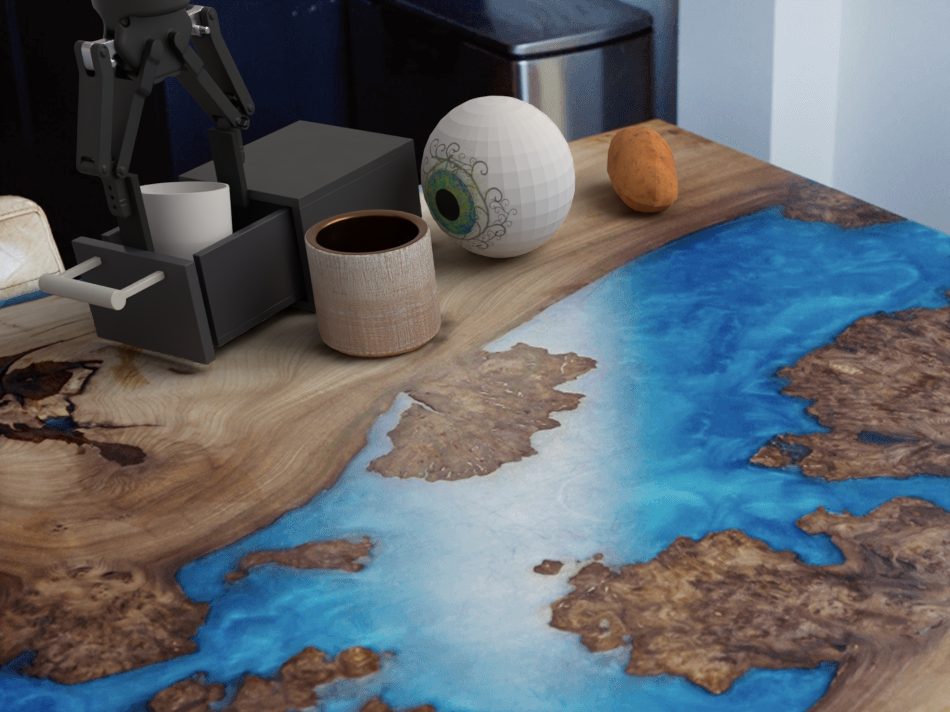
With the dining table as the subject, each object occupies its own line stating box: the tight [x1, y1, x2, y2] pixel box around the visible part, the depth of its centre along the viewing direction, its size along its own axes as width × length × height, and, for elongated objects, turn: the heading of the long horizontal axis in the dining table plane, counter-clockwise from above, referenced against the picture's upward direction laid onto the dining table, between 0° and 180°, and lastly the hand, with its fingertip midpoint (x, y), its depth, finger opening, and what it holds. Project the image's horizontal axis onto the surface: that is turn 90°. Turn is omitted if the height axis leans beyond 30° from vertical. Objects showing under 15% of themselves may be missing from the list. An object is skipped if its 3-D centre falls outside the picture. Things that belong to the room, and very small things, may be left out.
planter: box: [305, 209, 442, 359], centre depth 124 cm, size 11×11×10 cm
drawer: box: [37, 199, 307, 366], centre depth 124 cm, size 23×13×9 cm, turn 153°
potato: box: [606, 125, 679, 213], centre depth 151 cm, size 7×13×7 cm, turn 10°
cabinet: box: [178, 119, 423, 314], centre depth 137 cm, size 18×14×11 cm
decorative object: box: [420, 95, 576, 259], centre depth 138 cm, size 15×15×15 cm
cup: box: [140, 181, 232, 261], centre depth 125 cm, size 8×8×10 cm
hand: (189, 226), depth 123 cm, fingers open, 12 cm apart
